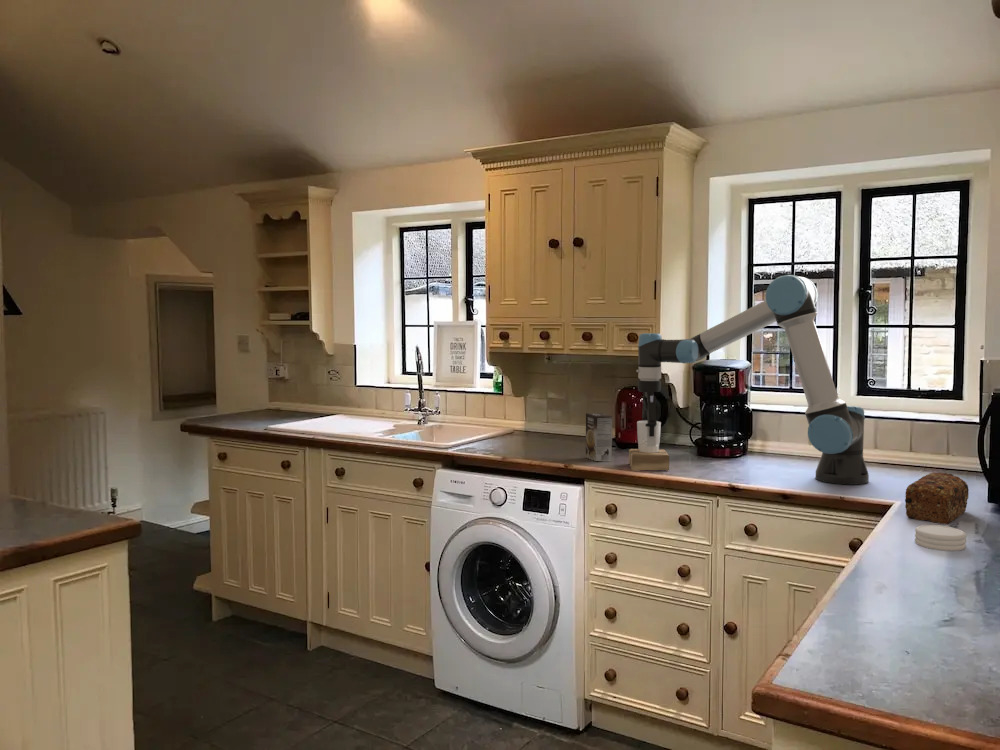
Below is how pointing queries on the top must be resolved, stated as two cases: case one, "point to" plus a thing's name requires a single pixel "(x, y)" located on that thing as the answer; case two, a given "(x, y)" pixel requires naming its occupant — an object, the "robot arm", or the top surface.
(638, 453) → the oak block
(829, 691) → the top surface
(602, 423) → the coffee box
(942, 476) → the bread
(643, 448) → the white cup
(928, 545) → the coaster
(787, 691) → the top surface
